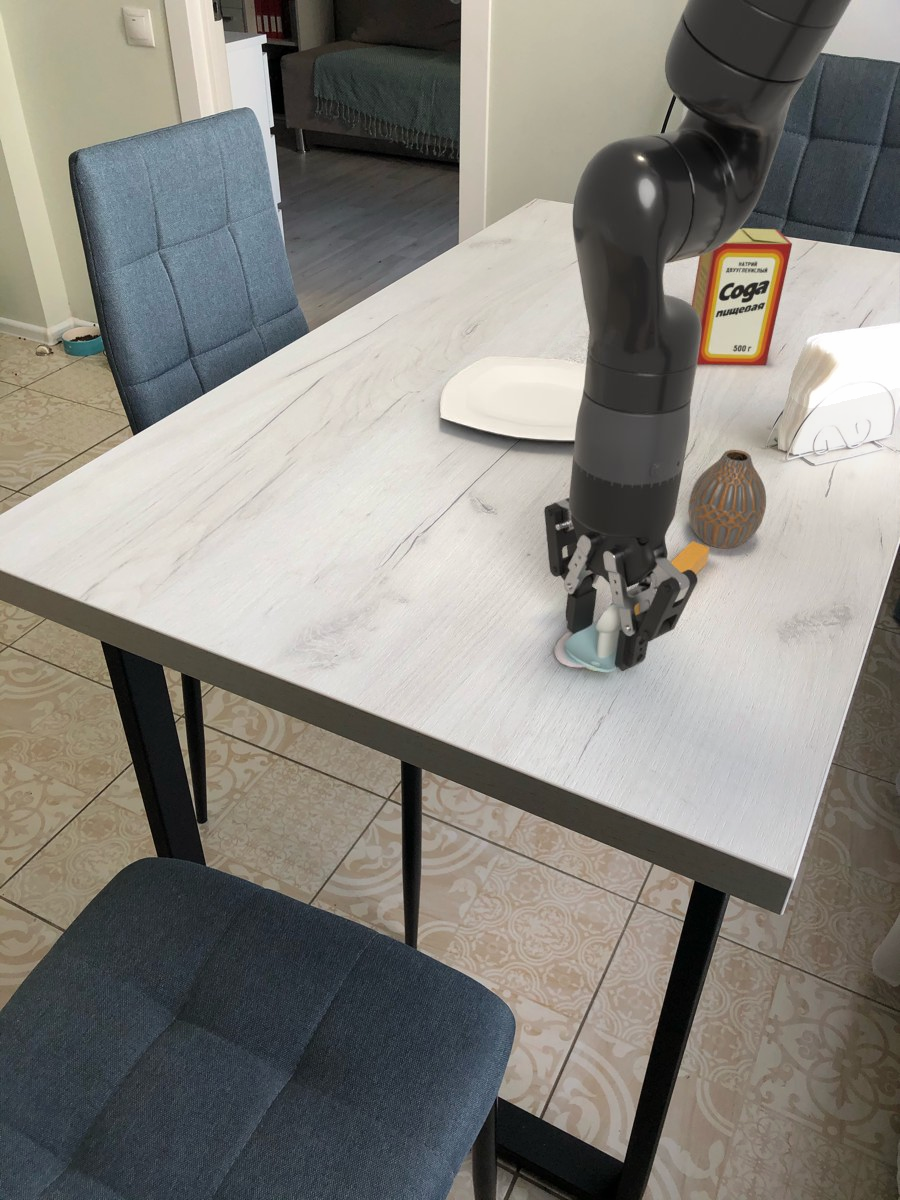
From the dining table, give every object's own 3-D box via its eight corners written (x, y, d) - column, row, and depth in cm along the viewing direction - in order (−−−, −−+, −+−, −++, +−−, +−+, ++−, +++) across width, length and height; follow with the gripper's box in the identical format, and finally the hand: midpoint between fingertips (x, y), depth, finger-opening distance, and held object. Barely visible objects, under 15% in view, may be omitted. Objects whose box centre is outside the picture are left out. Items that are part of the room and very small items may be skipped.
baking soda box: (694, 364, 125) (715, 239, 115) (684, 346, 130) (704, 225, 120) (765, 365, 125) (792, 240, 115) (753, 346, 130) (778, 226, 120)
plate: (619, 467, 101) (621, 450, 100) (416, 437, 107) (416, 421, 105) (647, 384, 119) (649, 369, 118) (472, 362, 124) (472, 348, 123)
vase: (763, 528, 91) (782, 447, 86) (749, 564, 86) (769, 480, 81) (692, 512, 94) (707, 432, 89) (675, 546, 89) (690, 463, 83)
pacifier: (537, 657, 75) (594, 694, 72) (541, 594, 72) (602, 629, 68) (596, 620, 79) (653, 653, 76) (602, 558, 76) (663, 589, 72)
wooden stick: (688, 556, 87) (691, 540, 86) (706, 563, 86) (710, 547, 85) (626, 618, 79) (629, 601, 78) (645, 626, 79) (648, 609, 78)
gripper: (747, 480, 61) (703, 677, 71) (597, 404, 71) (577, 587, 81) (666, 514, 58) (632, 716, 68) (520, 429, 67) (509, 618, 77)
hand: (602, 645), depth 74 cm, fingers closed on pacifier, 5 cm apart
